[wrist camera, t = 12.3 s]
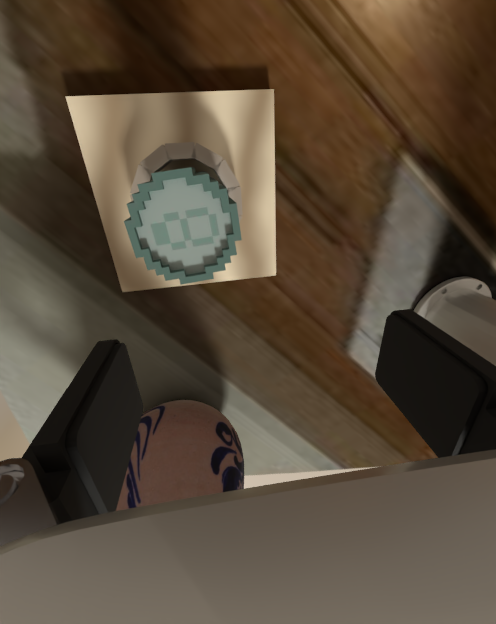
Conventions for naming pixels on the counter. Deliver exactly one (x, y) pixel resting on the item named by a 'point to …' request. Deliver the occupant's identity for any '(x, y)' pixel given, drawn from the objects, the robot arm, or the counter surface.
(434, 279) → the counter surface
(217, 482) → the ceramic pitcher
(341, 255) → the counter surface
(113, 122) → the socket board
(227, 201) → the can
